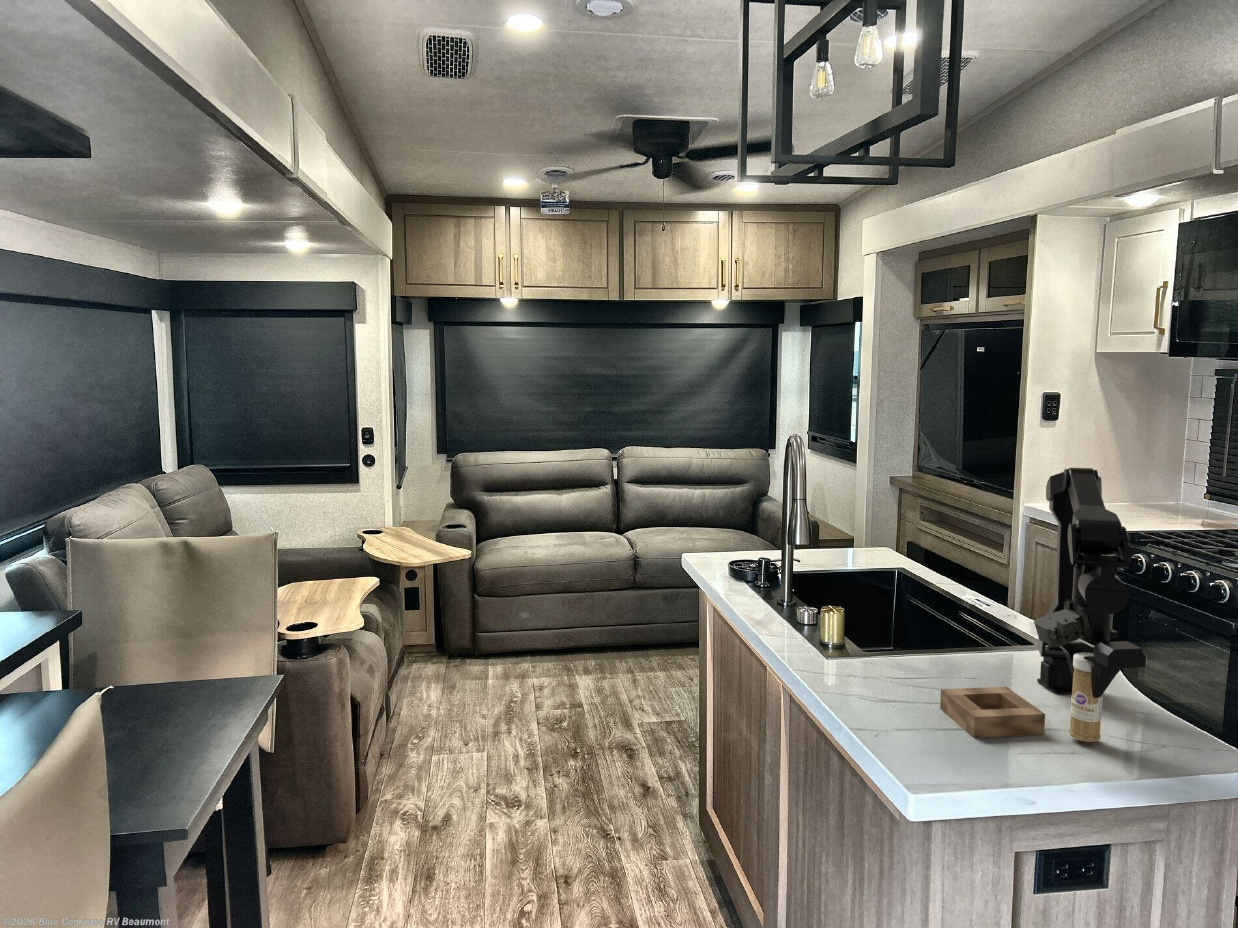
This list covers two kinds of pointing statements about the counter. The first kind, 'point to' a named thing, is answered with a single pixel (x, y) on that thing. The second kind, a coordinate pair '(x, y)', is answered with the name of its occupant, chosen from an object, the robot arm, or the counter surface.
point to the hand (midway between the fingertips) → (1087, 691)
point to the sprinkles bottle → (1084, 702)
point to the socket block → (992, 712)
